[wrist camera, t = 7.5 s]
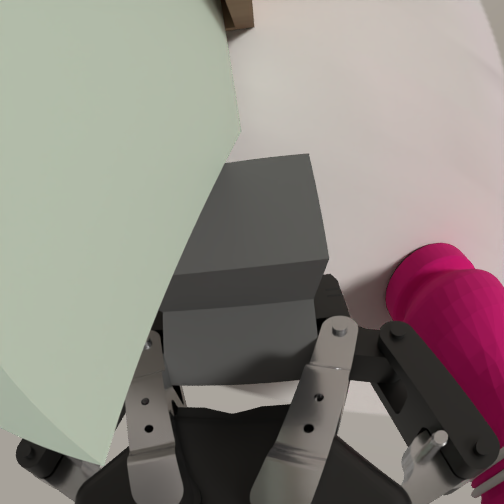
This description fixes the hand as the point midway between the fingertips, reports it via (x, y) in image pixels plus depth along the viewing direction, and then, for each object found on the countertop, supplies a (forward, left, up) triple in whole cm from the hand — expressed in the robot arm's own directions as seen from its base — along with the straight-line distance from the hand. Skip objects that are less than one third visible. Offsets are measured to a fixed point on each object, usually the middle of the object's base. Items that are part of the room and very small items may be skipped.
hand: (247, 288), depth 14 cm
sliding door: (-13, 0, -3) cm, 13 cm away
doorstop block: (-4, 0, +2) cm, 4 cm away
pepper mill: (+3, +11, -3) cm, 12 cm away
